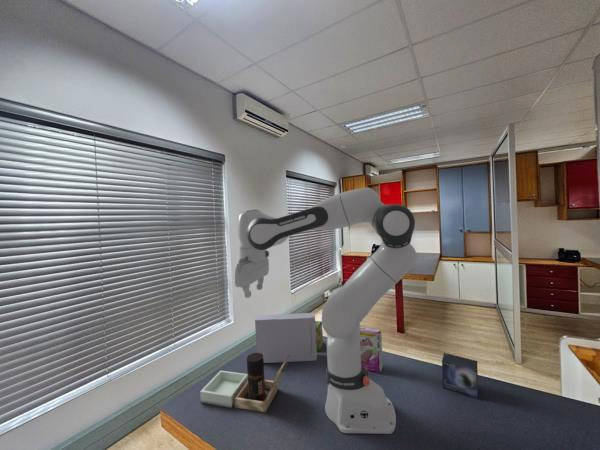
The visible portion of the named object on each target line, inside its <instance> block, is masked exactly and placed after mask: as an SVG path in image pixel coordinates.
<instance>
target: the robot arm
mask: <svg viewBox="0 0 600 450" xmlns="http://www.w3.org/2000/svg"><path fill="white" fill-rule="evenodd" d="M361 223H368V224H371V227H373V229H374V231H375V232H376V234H377V235H378V236H379V237H380V239H381V243H380V245H379V247H378V248H377V250H376V251H374V252H373V253H372V254H371V256H370V257H368V259H366V260H365V261H364V263H362V264H361V265H360V266H359V267H358V268H357V269H356V270H355V271H354V272H353V273H352V275H351V276H350V277H349V278H348V279H347V280H346V281H345V283H344V284H343V285H342V286H339V287H337V288H335V289H333V290H332V291H331V292H330V293H329V295H328V298H327V300H326V301H325V304H324V305H323V308H322V311H321V322H322V329H323V330H324V331H325V333H326V357H327V358H326V361H327V364H326V370H325V371H326V373H325V374H326V383H327V394H326V399H325V400H326V401H325V404H324V411H325V415H326V416H327V417H328V419H329V420H330V421H331V422H333V423H334V424H335V425H336V427H337V428H338V430H339V431H340V432H341V433H343V434H372V435H373V434H375V435H377V434H380V435H382V434H383V435H385V434H386V435H391V434H393V432H394V431H395V430H396V426H397V415H396V411H395V406H394V404H393V402H392V401H391V400H390V398H388V397H387V396H386V394H385V391H384V388H382V386H380V385H379V384H378V383H376V382H375V381H373V380H372V379H371V378H370V377H369V370H367V367H366V368H364V367H362V366H361V350H360V326H361V325H360V323H361V322H362V321H363V320H364V319H365V318H366V316H367V315H368V314H369V313H370V311H371V310H372V309H373V308H374V306H375V305H376V304H377V303H378V302H379V301H380V299H382V298H383V297H384V296H385V295H386V294H387V293H388V291H390V290H391V289H393V287H394V286H395V285H396V284H398V283H399V281H400V280H402V278H403V277H405V275H407V273H408V272H409V271H410V269H411V268H412V267H413V266H414V264H415V263H416V261H417V259H418V258H417V256H418V255H417V251H416V250H415V247H414V246H413V245H412V244H411V241H412V237H413V233H414V231H415V225H416V221H415V216H414V214H413V212H412V211H411V210H410V209H409V208H408V207H406V206H405V205H402V204H398V203H393V204H384V203H383V202H382V201H381V197H380V196H379V194H378V192H377V191H376V190H374V189H373V188H371V187H359V188H355V189H351V190H346V191H343V192H340V193H337V194H335V195H334V194H333V195H332V196H330V197H327V198H325V199H323V200H321V201H320V202H317V203H315V204H314V205H312V206H310V207H308V208H305V209H303V210H300V211H297V212H294V213H290V214H287V215H284V216H280V217H273V216H270V215H267V214H265V213H264V212H263V211H261V210H259V209H251V210H246V211H243V212H242V213H240V214H239V216H238V224H237V226H238V227H237V228H238V229H237V233H238V239H239V245H238V249H239V259H238V261H237V264H236V265H235V269H234V286H235V287H236V288H241V289H242V291H243V293H244V298H246V299H249V298H251V296H252V291H251V290H250V287H251V286H250V285H252V284H254V283H255V282H257V284H256V290H257V291H260V290H263V283H264V277H266V276H267V275H268V274H269V272H270V271H269V267H270V266H269V265H270V263H269V257H270V251H269V250H268V249H270V248H272V247H276V246H279V245H281V244H283V243H285V241H287V239H288V238H289V237H290V236H293V235H298V234H301V233H303V232H308V231H316V230H319V231H320V230H322V231H324V230H335V229H336V230H337V229H342V228H347V227H351V226H354V225H358V224H361Z"/></svg>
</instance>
